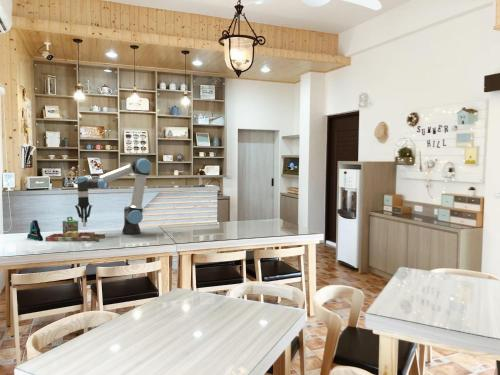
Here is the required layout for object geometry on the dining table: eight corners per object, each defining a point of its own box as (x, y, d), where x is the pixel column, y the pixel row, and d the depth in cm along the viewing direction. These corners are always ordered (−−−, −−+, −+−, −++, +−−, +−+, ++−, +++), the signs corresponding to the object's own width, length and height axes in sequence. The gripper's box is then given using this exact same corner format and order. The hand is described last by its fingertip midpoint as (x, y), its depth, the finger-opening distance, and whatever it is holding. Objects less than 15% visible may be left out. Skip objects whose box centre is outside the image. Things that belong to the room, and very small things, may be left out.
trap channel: (107, 236, 344) (107, 232, 344) (98, 241, 322) (98, 237, 322) (57, 235, 343) (57, 232, 343) (45, 241, 321) (45, 237, 321)
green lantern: (68, 236, 341) (67, 218, 340) (62, 234, 347) (61, 217, 346) (78, 234, 349) (78, 217, 347) (72, 233, 354) (72, 215, 353)
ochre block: (78, 238, 333) (78, 231, 332) (74, 240, 326) (74, 232, 325) (69, 238, 333) (69, 231, 332) (65, 240, 326) (65, 232, 325)
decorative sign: (43, 240, 324) (42, 221, 323) (40, 241, 322) (39, 221, 321) (30, 237, 334) (29, 218, 333) (27, 238, 332) (26, 219, 331)
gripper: (72, 197, 323) (74, 227, 325) (89, 197, 323) (91, 227, 325) (76, 196, 330) (78, 225, 332) (93, 195, 330) (94, 225, 333)
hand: (84, 226), depth 329 cm, fingers closed
